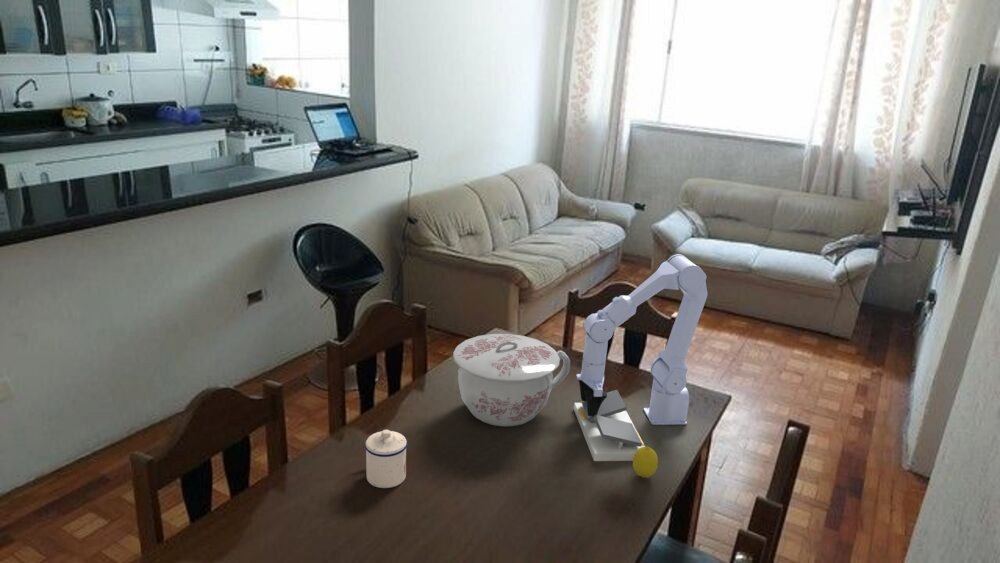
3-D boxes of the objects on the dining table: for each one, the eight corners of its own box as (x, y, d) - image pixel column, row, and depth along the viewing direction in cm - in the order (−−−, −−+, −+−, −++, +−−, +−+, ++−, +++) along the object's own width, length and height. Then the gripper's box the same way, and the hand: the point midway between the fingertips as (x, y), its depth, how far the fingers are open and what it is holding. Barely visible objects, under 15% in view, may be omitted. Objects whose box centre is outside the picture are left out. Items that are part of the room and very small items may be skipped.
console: (620, 408, 188) (622, 398, 187) (647, 460, 166) (649, 448, 165) (573, 409, 187) (574, 398, 186) (594, 461, 164) (595, 449, 163)
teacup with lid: (414, 481, 154) (414, 435, 150) (376, 494, 149) (376, 447, 145) (389, 454, 163) (388, 410, 159) (352, 466, 158) (351, 421, 154)
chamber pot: (432, 424, 176) (434, 350, 169) (476, 379, 200) (479, 312, 193) (537, 452, 167) (543, 375, 160) (570, 401, 191) (576, 332, 184)
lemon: (655, 486, 156) (660, 455, 154) (630, 482, 157) (634, 451, 155) (655, 472, 162) (659, 442, 159) (631, 468, 163) (635, 438, 160)
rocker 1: (618, 394, 185) (616, 389, 185) (627, 413, 176) (626, 407, 176) (582, 405, 185) (580, 400, 185) (590, 425, 176) (588, 419, 176)
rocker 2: (628, 428, 175) (631, 422, 175) (639, 450, 166) (642, 444, 166) (592, 419, 173) (594, 413, 173) (601, 441, 164) (603, 435, 164)
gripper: (572, 347, 182) (568, 393, 187) (584, 373, 168) (579, 422, 173) (599, 348, 183) (593, 394, 187) (613, 373, 169) (607, 422, 174)
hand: (588, 407), depth 180 cm, fingers open, 7 cm apart
